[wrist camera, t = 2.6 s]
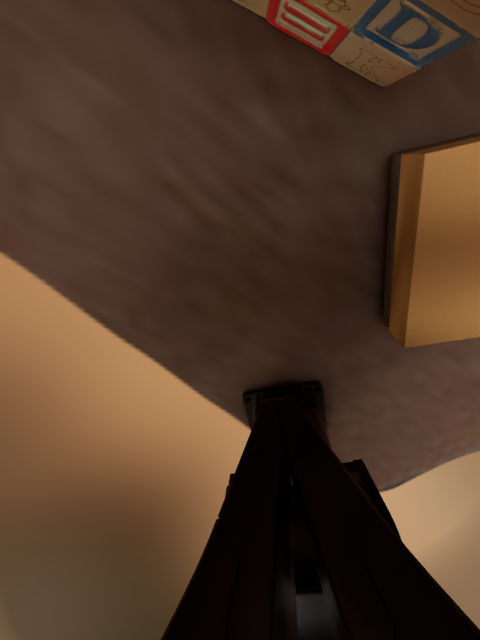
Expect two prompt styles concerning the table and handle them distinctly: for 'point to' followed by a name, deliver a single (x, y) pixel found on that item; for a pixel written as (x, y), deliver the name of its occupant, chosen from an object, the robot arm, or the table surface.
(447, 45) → the tan printed boxy piece
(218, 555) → the robot arm
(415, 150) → the chalkboard eraser
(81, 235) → the table surface
